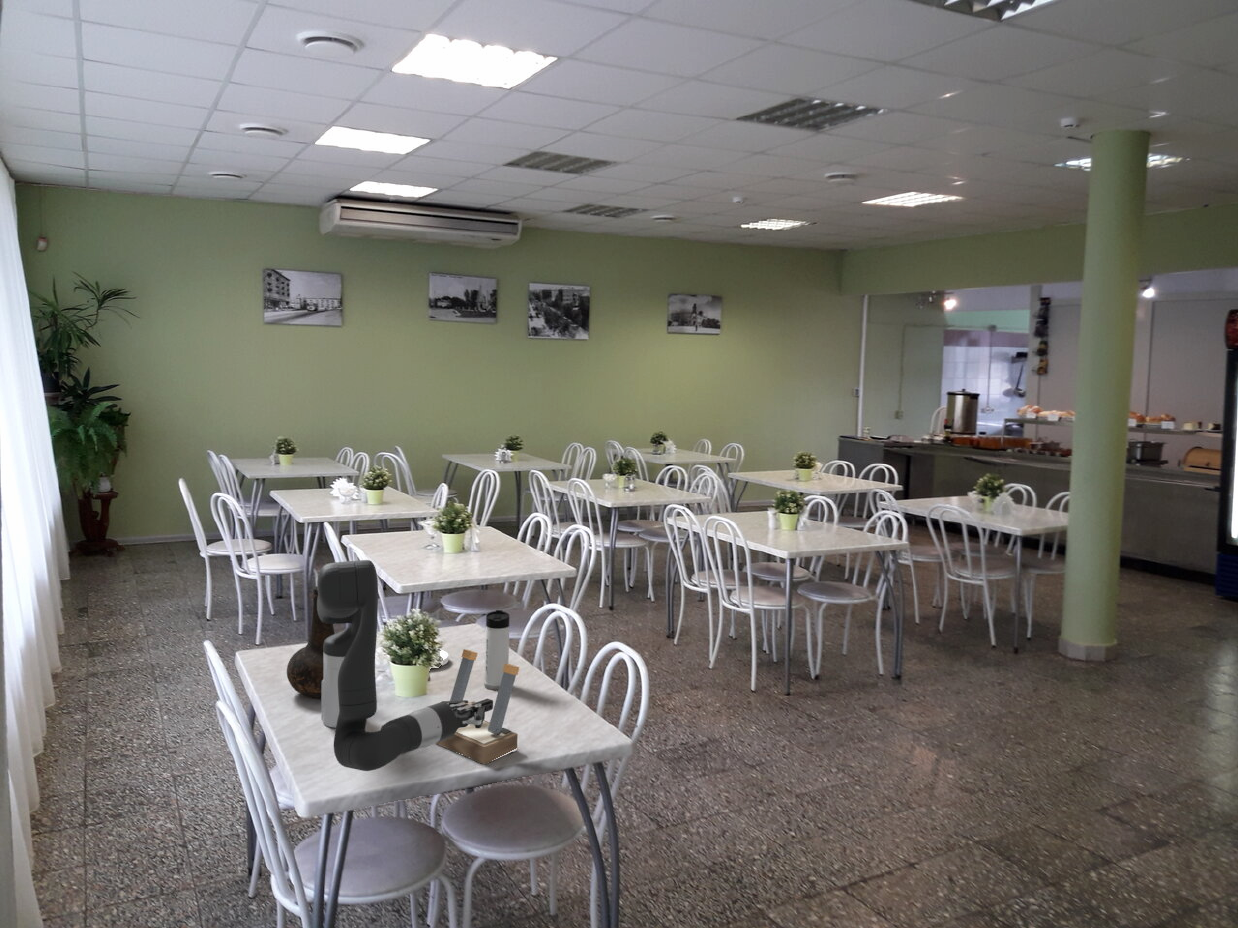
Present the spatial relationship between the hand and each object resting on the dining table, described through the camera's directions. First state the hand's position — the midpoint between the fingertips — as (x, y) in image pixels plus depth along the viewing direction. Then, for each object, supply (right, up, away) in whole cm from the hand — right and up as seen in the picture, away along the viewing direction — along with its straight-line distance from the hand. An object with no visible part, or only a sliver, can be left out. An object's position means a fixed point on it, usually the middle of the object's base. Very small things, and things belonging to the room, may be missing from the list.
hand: (490, 703), depth 201 cm
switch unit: (-5, -11, +6) cm, 14 cm away
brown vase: (-48, -7, +35) cm, 59 cm away
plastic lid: (-28, -5, +61) cm, 67 cm away
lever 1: (-10, -6, +10) cm, 16 cm away
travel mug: (-5, -7, +45) cm, 45 cm away
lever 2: (0, -7, +2) cm, 7 cm away
